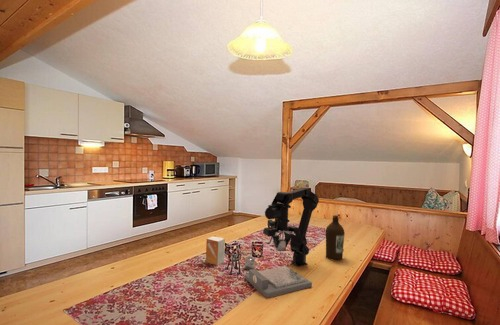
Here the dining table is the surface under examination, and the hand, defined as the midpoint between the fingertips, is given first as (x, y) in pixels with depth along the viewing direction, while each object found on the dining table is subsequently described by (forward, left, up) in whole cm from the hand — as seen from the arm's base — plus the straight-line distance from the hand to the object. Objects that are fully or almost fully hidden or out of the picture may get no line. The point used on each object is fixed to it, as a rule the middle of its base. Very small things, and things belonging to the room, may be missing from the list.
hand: (280, 247), depth 137 cm
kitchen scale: (+8, +10, -12) cm, 17 cm away
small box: (+26, -24, -13) cm, 38 cm away
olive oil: (-41, -3, -13) cm, 43 cm away
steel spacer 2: (0, 0, -1) cm, 1 cm away
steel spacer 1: (+12, -10, -12) cm, 20 cm away
